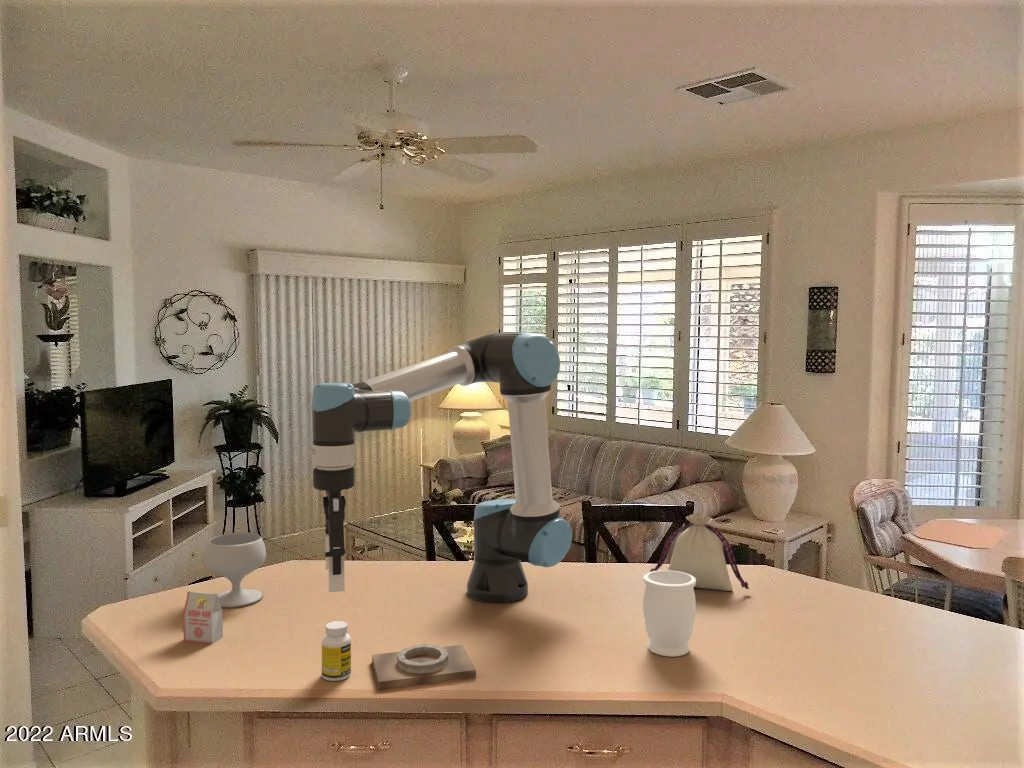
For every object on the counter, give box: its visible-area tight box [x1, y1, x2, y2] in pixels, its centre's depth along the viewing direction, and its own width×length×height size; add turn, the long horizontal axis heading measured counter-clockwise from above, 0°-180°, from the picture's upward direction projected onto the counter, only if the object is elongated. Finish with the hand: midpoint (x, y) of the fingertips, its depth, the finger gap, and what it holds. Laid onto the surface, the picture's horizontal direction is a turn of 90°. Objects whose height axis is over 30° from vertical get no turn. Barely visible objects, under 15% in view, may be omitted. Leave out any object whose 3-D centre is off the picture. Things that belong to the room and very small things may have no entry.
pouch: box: [649, 512, 750, 592], centre depth 192 cm, size 25×8×19 cm, turn 72°
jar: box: [642, 569, 697, 658], centre depth 155 cm, size 11×10×15 cm
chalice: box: [203, 531, 267, 608], centre depth 182 cm, size 14×14×15 cm
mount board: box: [371, 643, 477, 691], centre depth 145 cm, size 18×12×3 cm, turn 106°
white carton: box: [182, 591, 224, 645], centre depth 159 cm, size 4×7×10 cm, turn 77°
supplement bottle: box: [321, 620, 352, 682], centre depth 142 cm, size 5×5×10 cm
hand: (334, 579), depth 141 cm, fingers open, 13 cm apart
